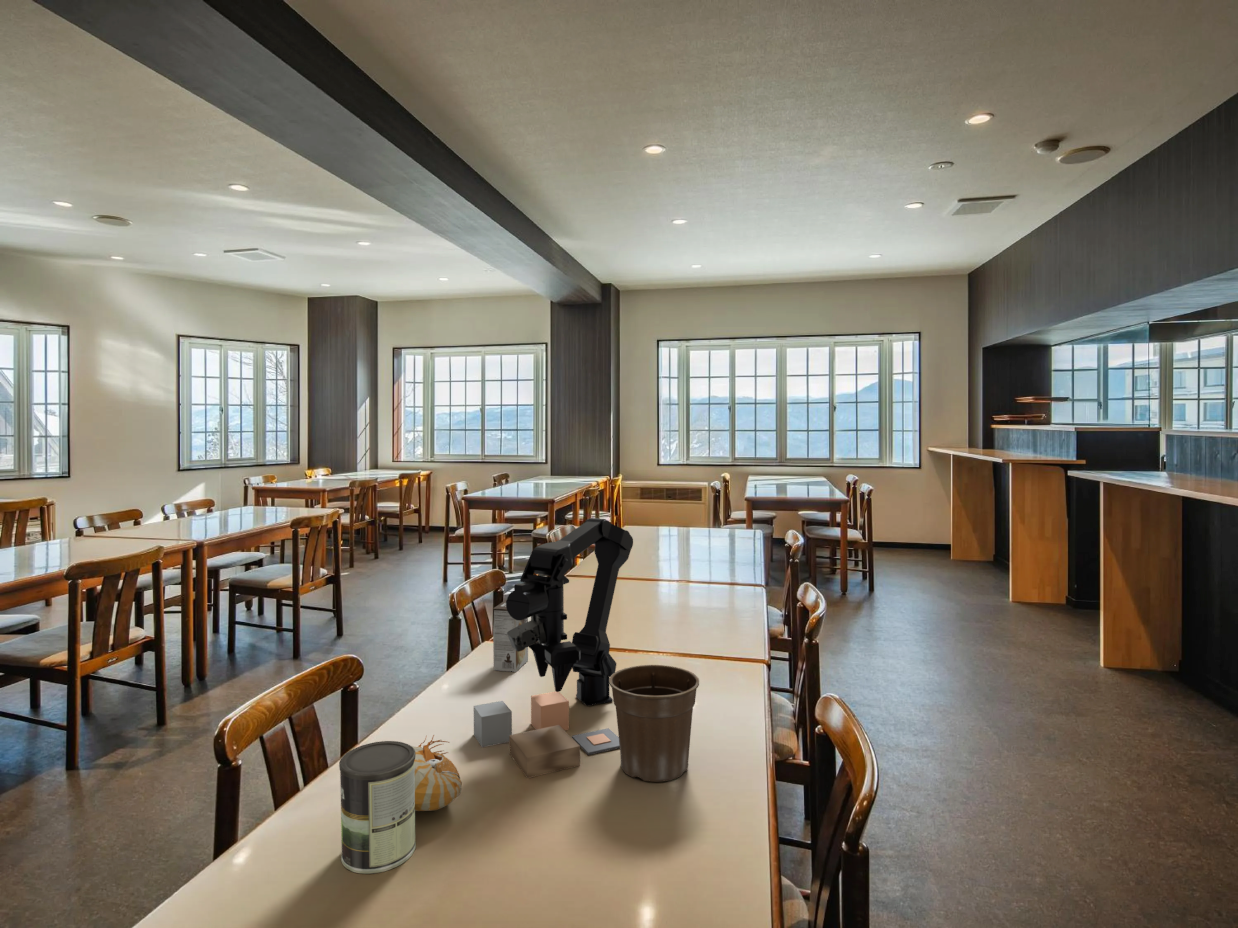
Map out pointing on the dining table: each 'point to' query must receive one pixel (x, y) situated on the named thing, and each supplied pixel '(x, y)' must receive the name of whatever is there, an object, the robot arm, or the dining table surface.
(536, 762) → the tan block
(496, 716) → the slate grey cube
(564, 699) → the terracotta cube
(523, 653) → the coffee box
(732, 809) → the dining table surface
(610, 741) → the card
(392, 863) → the coffee can
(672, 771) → the plant pot
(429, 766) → the nautilus
